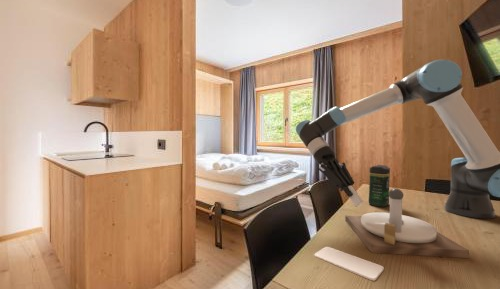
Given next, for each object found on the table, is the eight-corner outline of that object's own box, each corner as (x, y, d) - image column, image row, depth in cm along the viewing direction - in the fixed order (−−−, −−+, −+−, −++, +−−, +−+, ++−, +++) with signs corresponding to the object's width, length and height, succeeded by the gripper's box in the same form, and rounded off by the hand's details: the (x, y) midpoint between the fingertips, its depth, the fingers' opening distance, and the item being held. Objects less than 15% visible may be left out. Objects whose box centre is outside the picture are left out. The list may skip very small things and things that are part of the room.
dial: (365, 214, 86) (365, 176, 86) (432, 225, 75) (433, 182, 75) (356, 232, 70) (356, 186, 69) (440, 250, 58) (442, 195, 58)
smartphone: (326, 245, 65) (384, 266, 54) (326, 248, 65) (384, 269, 54) (312, 254, 60) (374, 279, 49) (312, 257, 60) (374, 283, 49)
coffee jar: (385, 208, 101) (386, 166, 100) (366, 204, 106) (367, 165, 106) (391, 204, 108) (392, 165, 107) (373, 200, 113) (373, 163, 113)
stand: (413, 223, 83) (414, 204, 83) (468, 258, 59) (469, 231, 59) (345, 220, 86) (345, 202, 86) (371, 252, 62) (371, 227, 62)
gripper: (327, 157, 95) (363, 207, 81) (304, 158, 88) (339, 213, 75) (338, 144, 90) (378, 195, 76) (314, 145, 84) (354, 200, 70)
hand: (359, 204), depth 75 cm, fingers closed
